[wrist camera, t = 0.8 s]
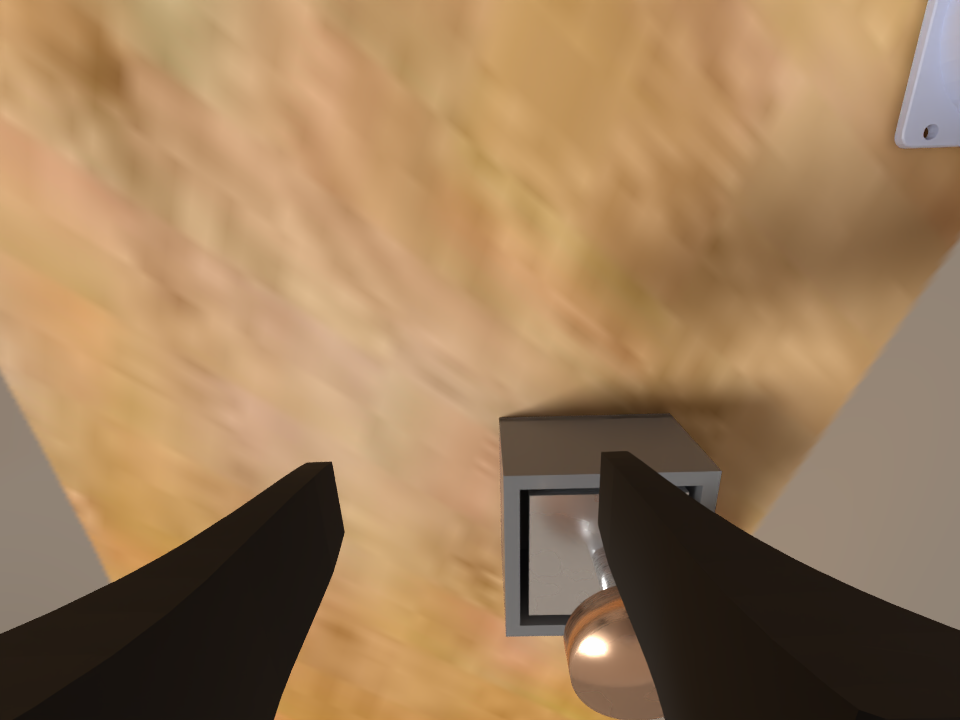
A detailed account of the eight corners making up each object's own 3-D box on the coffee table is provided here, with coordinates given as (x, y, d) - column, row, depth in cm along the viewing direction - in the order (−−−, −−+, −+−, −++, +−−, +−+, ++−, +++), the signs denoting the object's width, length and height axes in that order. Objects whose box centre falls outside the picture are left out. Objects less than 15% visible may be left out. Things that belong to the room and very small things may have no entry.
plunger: (682, 483, 17) (761, 593, 12) (665, 600, 19) (728, 736, 14) (528, 486, 17) (545, 596, 12) (527, 603, 19) (542, 738, 14)
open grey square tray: (668, 411, 21) (721, 471, 16) (651, 547, 24) (694, 633, 19) (498, 415, 21) (503, 476, 16) (501, 550, 24) (506, 636, 19)
